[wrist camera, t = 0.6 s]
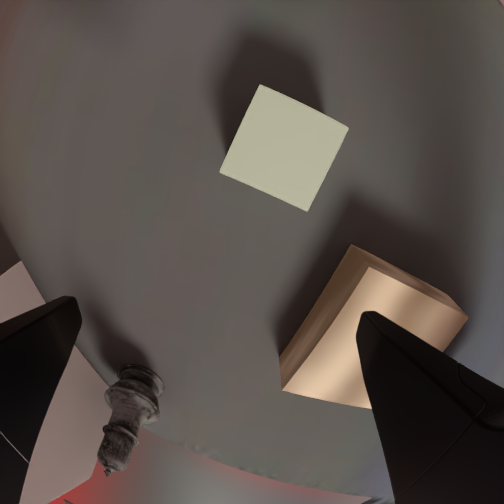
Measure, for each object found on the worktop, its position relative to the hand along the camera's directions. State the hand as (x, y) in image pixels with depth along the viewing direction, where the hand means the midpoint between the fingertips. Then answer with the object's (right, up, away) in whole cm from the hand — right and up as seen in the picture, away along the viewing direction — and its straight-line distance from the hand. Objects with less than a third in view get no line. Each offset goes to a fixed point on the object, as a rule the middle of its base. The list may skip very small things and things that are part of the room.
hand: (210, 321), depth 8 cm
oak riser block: (+12, -5, +16) cm, 20 cm away
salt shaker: (-11, -12, +19) cm, 25 cm away
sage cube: (+3, +9, +10) cm, 14 cm away
